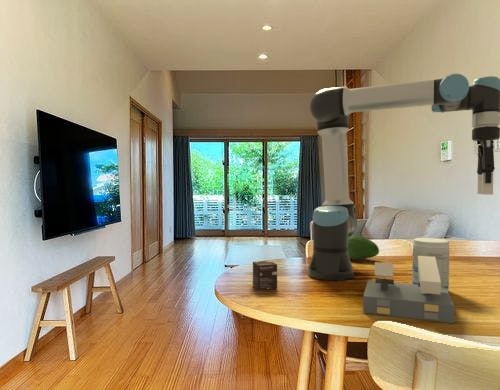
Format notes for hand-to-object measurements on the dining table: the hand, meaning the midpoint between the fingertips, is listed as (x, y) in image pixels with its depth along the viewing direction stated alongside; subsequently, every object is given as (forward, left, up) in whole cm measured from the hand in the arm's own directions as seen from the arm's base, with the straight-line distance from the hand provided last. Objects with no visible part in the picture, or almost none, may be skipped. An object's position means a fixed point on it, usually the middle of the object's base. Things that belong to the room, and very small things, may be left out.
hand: (484, 194), depth 117 cm
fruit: (-40, +23, -28) cm, 54 cm away
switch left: (-29, -38, -20) cm, 52 cm away
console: (-24, -38, -28) cm, 53 cm away
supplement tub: (-17, -18, -28) cm, 37 cm away
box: (-63, -32, -28) cm, 76 cm away
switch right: (-19, -38, -20) cm, 47 cm away
